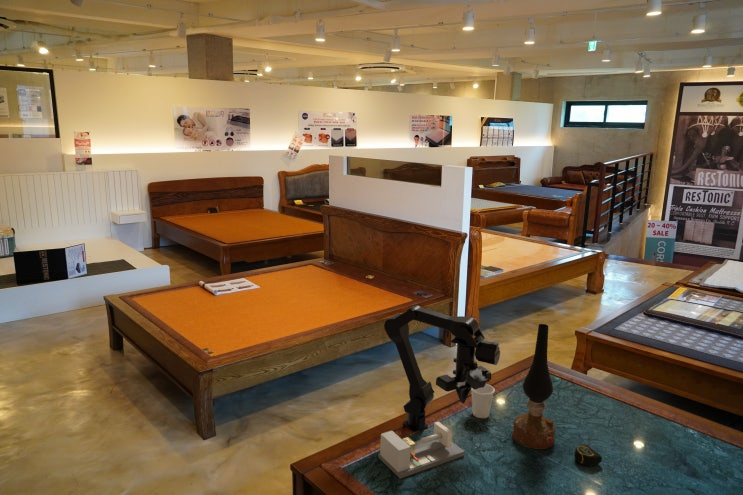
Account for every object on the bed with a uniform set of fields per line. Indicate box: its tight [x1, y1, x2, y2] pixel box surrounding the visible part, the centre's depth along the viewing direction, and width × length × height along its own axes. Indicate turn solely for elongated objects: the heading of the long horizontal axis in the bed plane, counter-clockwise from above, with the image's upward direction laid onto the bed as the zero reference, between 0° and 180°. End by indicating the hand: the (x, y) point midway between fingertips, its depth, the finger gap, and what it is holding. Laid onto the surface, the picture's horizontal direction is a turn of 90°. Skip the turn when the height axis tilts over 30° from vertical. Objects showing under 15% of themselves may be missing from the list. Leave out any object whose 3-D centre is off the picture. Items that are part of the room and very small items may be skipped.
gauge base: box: [377, 430, 465, 479], centre depth 169 cm, size 12×24×8 cm, turn 121°
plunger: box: [420, 421, 453, 448], centre depth 171 cm, size 7×9×5 cm
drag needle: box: [401, 436, 419, 462], centre depth 165 cm, size 7×2×4 cm, turn 31°
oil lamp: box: [511, 323, 556, 450], centre depth 179 cm, size 14×15×40 cm
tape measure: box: [573, 444, 603, 467], centre depth 169 cm, size 7×7×4 cm
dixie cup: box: [470, 383, 496, 419], centre depth 195 cm, size 8×8×10 cm
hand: (462, 402), depth 177 cm, fingers closed
